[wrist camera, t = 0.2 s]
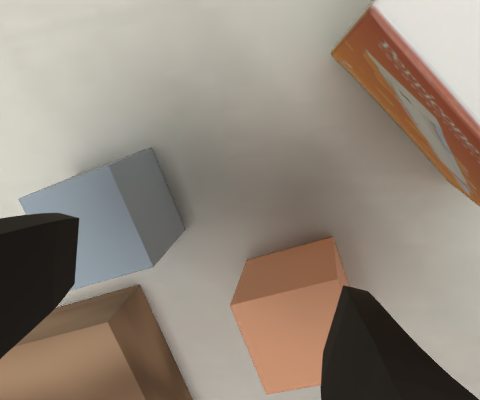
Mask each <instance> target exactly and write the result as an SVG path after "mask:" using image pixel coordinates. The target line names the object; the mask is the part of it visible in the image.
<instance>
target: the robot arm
mask: <svg viewBox="0 0 480 400" xmlns="http://www.w3.org/2000/svg"><path fill="white" fill-rule="evenodd" d="M78 230H79V218H77V217H73V216H70V215H66V214H62V213H39V214H30V215H22V216H15V217H8V218H1V219H0V359H1V358H2V357H3V356H4V355H5V354H6V353H7V352H9V351H10V350H11V349H12V348H13V347H14V346H15V345H16V344H17V343H19V342H20V341H21V340H22V339H23V338H24V337H25V336H26V335H27V334H28V333H30V332H31V331H32V330H33V329H34V328H35V327H36V326H37V325H38V324H39V323H40V322H42V321H43V320H44V319H45V318H46V317H47V316H48V315H49V314H50V313H51V312H52V311H53V310H54V309H55V308H56V306H57V305H58V304H59V303H60V302H61V301H62V299H63V298H64V297H65V296H66V294H67V293H68V292H69V290H70V289H71V288H72V287H73V285H74V284H75V272H76V258H77V244H78ZM321 400H479V399H478V398H476V397H475V396H474V395H473V394H472V393H470V392H469V391H468V390H467V389H466V388H464V387H463V386H462V385H461V384H459V383H458V382H457V381H456V380H455V379H453V378H452V377H451V376H450V375H449V374H448V373H447V372H446V371H444V370H443V369H442V368H441V367H440V366H439V365H438V364H437V363H436V362H435V361H434V360H433V359H432V358H431V357H430V356H429V355H428V354H427V353H425V352H424V351H423V350H422V349H421V348H420V347H419V346H418V345H417V344H416V342H415V341H414V340H413V339H412V338H411V337H410V336H409V335H408V334H407V333H406V332H405V331H404V330H403V329H402V328H401V327H400V326H399V324H398V323H397V322H396V321H395V320H394V319H393V318H392V317H391V316H390V314H389V313H388V312H387V311H386V310H385V309H384V308H383V307H382V306H381V304H380V303H379V302H378V301H377V300H376V299H375V298H374V297H373V296H372V295H371V294H370V293H369V292H368V291H364V290H360V289H356V288H352V287H348V286H344V285H343V287H342V291H341V294H340V297H339V301H338V304H337V307H336V311H335V314H334V317H333V321H332V324H331V327H330V330H329V334H328V337H327V340H326V344H325V347H324V350H323V358H322V373H321Z"/></svg>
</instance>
